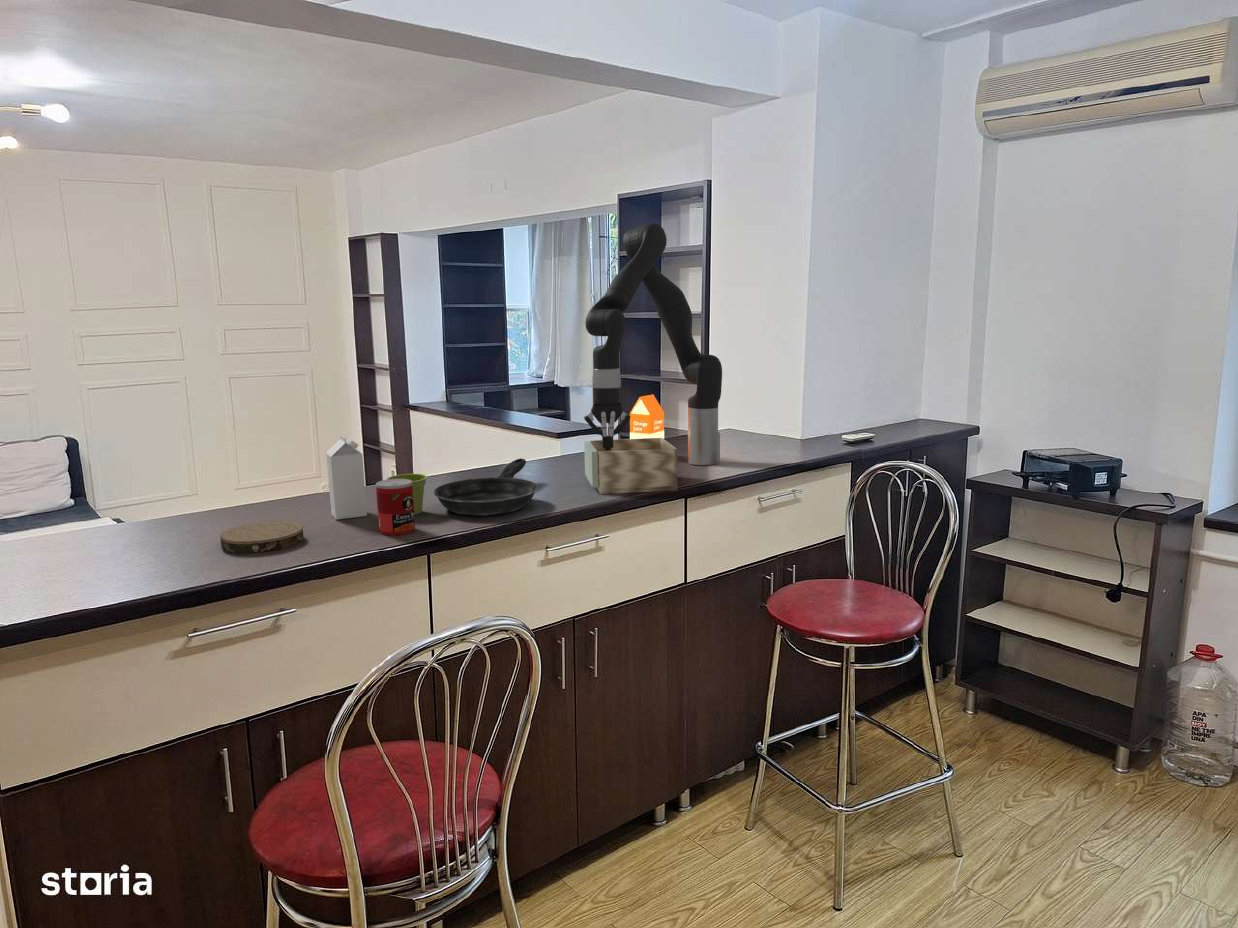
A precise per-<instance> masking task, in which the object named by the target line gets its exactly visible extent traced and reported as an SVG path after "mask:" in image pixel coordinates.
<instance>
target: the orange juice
mask: <svg viewBox="0 0 1238 928" xmlns="http://www.w3.org/2000/svg"><path fill="white" fill-rule="evenodd" d="M631 409H632V410H631V411H630V412H629V415H630V417H631V418H630V420H629V439H641V438H663V439H664V440H665V411H664V410H663V409H662V407H661V405H660V403H659V401H658V400H657V398H656V397H655V395H654V394H650V395H643V396H639V398H638V400H637V401H636V403H635V404H634V406H633V407H632V408H631Z"/></svg>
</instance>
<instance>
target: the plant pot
mask: <svg viewBox="0 0 1238 928" xmlns="http://www.w3.org/2000/svg"><path fill="white" fill-rule="evenodd" d="M387 479H408V480H411V481H412V484H413V497H414V514H415V516H416V515H420V514H421V513H422V512H423V505H424V494H425V493H424V492H425V491H424V490H425V485H426V481H427V479H428V476H427V475H426V474H421V473H405V474H404V473H403V474H396V475H392V476H388V477H387V478H386V479H385V480H387Z"/></svg>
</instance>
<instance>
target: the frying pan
mask: <svg viewBox="0 0 1238 928" xmlns="http://www.w3.org/2000/svg"><path fill="white" fill-rule="evenodd" d="M526 463H527V460H526V459H525V458H517V459H514V460H512V461H511V462H509V463H507V465H506V466H505V467H504V468H503V470H502V471H501V474H500V475H498V477H479V478H477V477H476V478H468V479H461V480H456V481H455V480H454V481H452V482H446V483H444V484H442V485H439V486H438V487H436V488H435V489H434V490H433V495H434V496H435V497H437V499H438V501H439V502H440V504H441V505H442V507H444V508H445V509H446V510H448V511H450V512H452V513H456V514H458V515H462V516H463V515H465V516H475V517H479V516H480V517H483V516H484V517H486V516H497V515H504V514H509V513H513V512H515V511H518V510H520V509H522V508H524V507H525V506H527V505H528V504H529V503H530V502H531V500H532V499H533V497H534V495H535V492H537V491H538V489H539V485H538V484H537V483H535V482H534V481H532V480H529V479H523V478H517V477H514V476H515V475H516V474H518V473H519V472H521V470H523V469H524V467H525V466H526Z"/></svg>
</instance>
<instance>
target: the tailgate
mask: <svg viewBox="0 0 1238 928" xmlns="http://www.w3.org/2000/svg"><path fill="white" fill-rule="evenodd" d="M590 441H591V440H584V442H583V443H584V445H583V447H584V448H583V449H584V475H585V477H586V479H587V480H588V482H589V484H590V486H591V487H592V488H596V487H598V453H597V450H596V449H595V448H594V446H593V445H592V444H591V442H590Z"/></svg>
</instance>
